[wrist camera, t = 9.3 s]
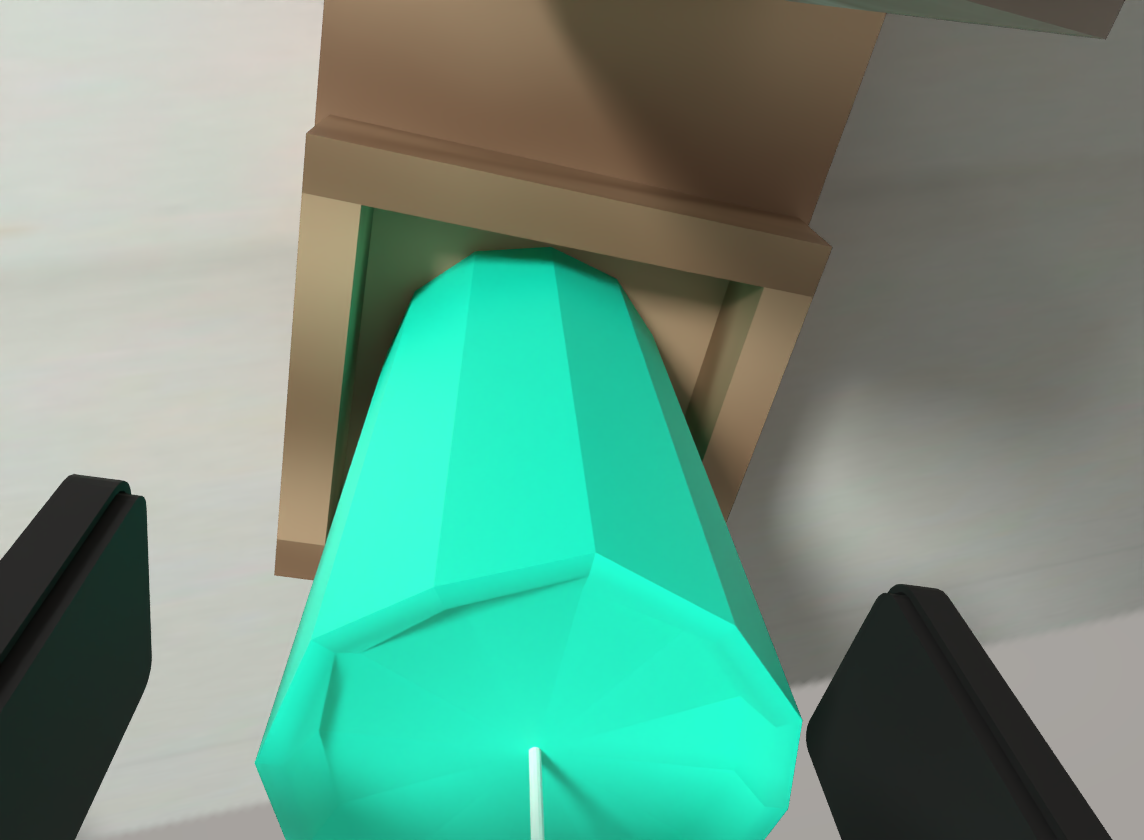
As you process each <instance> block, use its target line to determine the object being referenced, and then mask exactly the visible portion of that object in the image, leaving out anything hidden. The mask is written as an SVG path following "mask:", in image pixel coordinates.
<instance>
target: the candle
mask: <svg viewBox="0 0 1144 840" xmlns="http://www.w3.org/2000/svg"><path fill="white" fill-rule="evenodd" d="M801 727H802V718H801V715H800V713H799V710H798V708H797V705H796V702H795V700H794V697H793V695H792V692H791V690H790V687H789V684H788V682H787V679H786V677H785V674H784V672H783V669H782V666H781V664H780V661H779V659H778V656H777V654H776V651H775V648H774V646H773V643H772V641H771V638H770V636H769V633H768V630H767V628H766V625H765V623H764V620H763V618H762V615H761V612H760V610H759V607H758V605H757V602H756V600H755V597H754V594H753V592H752V589H751V587H750V584H749V582H748V579H747V576H746V574H745V571H744V569H743V566H742V564H741V561H740V558H739V556H738V553H737V551H736V548H735V546H734V543H733V540H732V538H731V535H730V533H729V530H728V528H727V525H726V522H725V520H724V517H723V515H722V512H721V510H720V507H719V504H718V502H717V499H716V497H715V494H714V492H713V489H712V486H711V484H710V481H709V479H708V476H707V474H706V471H705V468H704V466H703V463H702V461H701V458H700V456H699V453H698V450H697V448H696V445H695V443H694V440H693V438H692V435H691V432H690V430H689V427H688V425H687V422H686V420H685V417H684V414H683V412H682V409H681V407H680V404H679V402H678V399H677V396H676V394H675V391H674V389H673V386H672V384H671V381H670V378H669V376H668V373H667V371H666V368H665V366H664V363H663V360H662V358H661V355H660V353H659V350H658V348H657V345H656V342H655V340H654V337H653V335H652V333H651V332H650V330H649V329H648V327H647V326H646V324H645V322H644V321H643V319H642V318H641V316H640V315H639V313H638V312H637V310H636V308H635V307H634V305H633V304H632V302H631V301H630V299H629V297H628V296H627V294H626V293H625V291H624V290H623V288H622V286H621V285H620V283H619V282H618V280H617V279H616V278H614V277H612V276H610V275H608V274H606V273H604V272H602V271H600V270H598V269H596V268H594V267H591V266H589V265H587V264H585V263H583V262H581V261H579V260H577V259H575V258H573V257H571V256H569V255H567V254H565V253H563V252H561V251H559V250H557V249H555V248H553V247H538V248H521V249H505V250H488V251H475V252H474V253H472V254H471V255H469V256H468V257H466V258H465V259H463V260H461V261H460V262H458V263H457V264H455V265H454V266H452V267H451V268H449V269H448V270H446V271H445V272H443V273H442V274H440V275H439V276H437V277H436V278H434V279H433V280H431V281H430V282H428V283H427V284H425V285H424V286H422V287H420V288H419V289H417V290H416V291H415V292H414V294H413V296H412V299H411V301H410V303H409V305H408V307H407V310H406V312H405V314H404V316H403V318H402V321H401V323H400V325H399V327H398V330H397V332H396V334H395V336H394V338H393V341H392V343H391V345H390V347H389V349H388V352H387V355H386V358H385V361H384V364H383V367H382V370H381V373H380V376H379V379H378V382H377V386H376V389H375V392H374V395H373V398H372V401H371V404H370V407H369V410H368V413H367V416H366V420H365V423H364V426H363V429H362V432H361V435H360V438H359V441H358V444H357V447H356V451H355V454H354V457H353V460H352V463H351V466H350V469H349V472H348V475H347V478H346V482H345V485H344V488H343V491H342V494H341V497H340V500H339V503H338V506H337V509H336V513H335V516H334V519H333V522H332V525H331V528H330V531H329V534H328V537H327V540H326V544H325V547H324V550H323V553H322V556H321V559H320V562H319V565H318V568H317V571H316V575H315V578H314V581H313V584H312V587H311V590H310V593H309V596H308V599H307V602H306V606H305V609H304V612H303V615H302V618H301V621H300V624H299V627H298V630H297V633H296V637H295V640H294V643H293V646H292V649H291V652H290V655H289V658H288V661H287V664H286V668H285V671H284V674H283V677H282V680H281V683H280V686H279V689H278V692H277V695H276V698H275V702H274V705H273V708H272V711H271V714H270V717H269V720H268V723H267V726H266V729H265V733H264V736H263V739H262V742H261V745H260V748H259V751H258V754H257V757H256V760H255V765H256V768H257V770H258V773H259V775H260V777H261V780H262V782H263V785H264V787H265V790H266V792H267V795H268V797H269V800H270V802H271V805H272V807H273V810H274V812H275V814H276V817H277V819H278V822H279V824H280V827H281V829H282V832H283V834H284V837H285V839H286V840H765V838H766V837H767V836H768V834H769V833H770V832H771V830H772V829H773V828H774V827H775V825H776V824H777V823H778V821H779V820H780V819H781V817H782V816H783V815H784V814H785V812H786V811H787V810H788V807H789V801H790V794H791V788H792V782H793V776H794V769H795V764H796V757H797V751H798V745H799V739H800V732H801Z"/></svg>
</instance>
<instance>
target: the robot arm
mask: <svg viewBox="0 0 1144 840" xmlns="http://www.w3.org/2000/svg"><path fill="white" fill-rule="evenodd" d="M151 662H152V651H151V622H150V594H149V565H148V536H147V508H146V500H145V498H144V497H143V496H138V495H131V490H130V486H129V484H128V483H127V482H126V481H122V480H114V479H107V478H99V477H91V476H84V475H76V474H73V475H70V476H68V477H67V478H66V479H65V480H64V481H63V482H62V483H61V485H60V486H59V487H58V488H57V490H56V491H55V492H54V493H53V495H52V496H51V497H50V499H49V500H48V501H47V502H46V504H45V505H44V506H43V507H42V509H41V510H40V511H39V512H38V514H37V515H36V516H35V517H34V519H33V520H32V521H31V523H30V524H29V525H28V526H27V528H26V529H25V530H24V531H23V533H22V534H21V535H20V536H19V538H18V539H17V540H16V541H15V543H14V544H13V545H12V547H11V548H10V549H9V550H8V552H7V553H6V554H5V555H4V557H3V558H2V559H1V560H0V840H75V838H76V836H77V834H78V832H79V830H80V828H81V825H82V823H83V821H84V819H85V817H86V815H87V813H88V810H89V808H90V806H91V804H92V802H93V800H94V798H95V795H96V793H97V791H98V789H99V787H100V785H101V783H102V780H103V778H104V776H105V774H106V772H107V770H108V768H109V765H110V763H111V761H112V759H113V757H114V755H115V753H116V750H117V748H118V746H119V744H120V742H121V740H122V738H123V735H124V733H125V731H126V729H127V727H128V725H129V723H130V720H131V718H132V716H133V714H134V712H135V710H136V708H137V705H138V703H139V701H140V699H141V697H142V695H143V693H144V690H145V688H146V685H147V682H148V679H149V674H150V670H151ZM806 742H807V748H808V752H809V754H810V757H811V759H812V762H813V765H814V768H815V770H816V773H817V776H818V778H819V781H820V784H821V786H822V789H823V791H824V794H825V797H826V799H827V802H828V805H829V807H830V810H831V812H832V815H833V818H834V821H835V823H836V826H837V829H838V831H839V834H840V836H841V839H842V840H1112V839H1111V837H1110V836H1109V834H1108V833H1107V831H1106V830H1105V828H1104V827H1103V825H1102V824H1101V823H1100V821H1099V819H1098V818H1097V816H1096V815H1095V814H1094V812H1093V811H1092V809H1091V808H1090V806H1089V805H1088V803H1087V802H1086V800H1085V799H1084V797H1083V796H1082V794H1081V793H1080V791H1079V790H1078V788H1077V787H1076V785H1075V784H1074V782H1073V781H1072V779H1071V778H1070V776H1069V775H1068V773H1067V772H1066V771H1065V769H1064V768H1063V766H1062V765H1061V763H1060V762H1059V760H1058V759H1057V757H1056V756H1055V754H1054V753H1053V751H1052V750H1051V748H1050V747H1049V745H1048V744H1047V742H1046V741H1045V740H1044V738H1043V736H1042V735H1041V734H1040V732H1039V731H1038V729H1037V728H1036V726H1035V725H1034V723H1033V722H1032V720H1031V719H1030V717H1029V716H1028V714H1027V713H1026V711H1025V710H1024V708H1023V707H1022V705H1021V704H1020V702H1019V701H1018V699H1017V698H1016V696H1015V695H1014V694H1013V692H1012V691H1011V689H1010V688H1009V686H1008V685H1007V683H1006V682H1005V680H1004V679H1003V677H1002V676H1001V674H1000V673H999V671H998V670H997V668H996V667H995V665H994V664H993V663H992V661H991V660H990V658H989V657H988V655H987V654H986V652H985V651H984V649H983V648H982V646H981V645H980V643H979V642H978V640H977V639H976V637H975V636H974V634H973V633H972V631H971V630H970V628H969V627H968V625H967V624H966V622H965V621H964V619H963V618H962V617H961V615H960V614H959V612H958V611H957V609H956V608H955V606H954V605H953V603H952V602H951V600H950V599H949V597H948V596H947V595H946V594H945V593H944V592H943V591H941V590H939V589H935V588H928V587H920V586H913V585H905V584H897V585H895V586H893V587H892V588H891V589H890V590H889V591H888V593H883V594H881V595H880V596H879V597H878V598H877V599H876V601H875V603H874V604H873V606H872V608H871V610H870V612H869V614H868V615H867V617H866V619H865V621H864V623H863V624H862V626H861V628H860V630H859V632H858V634H857V635H856V637H855V639H854V641H853V643H852V644H851V646H850V648H849V650H848V652H847V654H846V655H845V657H844V659H843V661H842V663H841V664H840V666H839V668H838V670H837V672H836V674H835V675H834V677H833V679H832V681H831V683H830V684H829V686H828V688H827V690H826V692H825V694H824V695H823V697H822V699H821V701H820V703H819V704H818V706H817V708H816V710H815V712H814V714H813V715H812V717H811V719H810V721H809V723H808V726H807V731H806Z"/></svg>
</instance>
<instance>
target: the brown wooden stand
mask: <svg viewBox="0 0 1144 840" xmlns="http://www.w3.org/2000/svg"><path fill="white" fill-rule="evenodd" d="M1124 1H1125V0H324V10H323V24H322V37H321V50H320V63H319V76H318V89H317V102H316V115H315V127H313V128H312V129H311V130H310V131H308V132H307V133H306V144H305V158H304V172H303V186H302V200H301V213H300V227H299V241H298V255H297V269H296V283H295V297H294V311H293V324H292V338H291V352H290V366H289V380H288V394H287V408H286V422H285V435H284V449H283V463H282V477H281V491H280V505H279V519H278V533H277V546H276V560H275V574H274V575H276V576H284V577H292V578H300V579H308V580H314V578H315V575H316V571H317V568H318V565H319V562H320V559H321V556H322V553H323V550H324V547H325V544H326V540H327V537H328V534H329V531H330V528H331V525H332V522H333V519H334V516H335V513H336V509H337V506H338V503H339V500H340V497H341V494H342V491H343V488H344V485H345V482H346V478H347V475H348V472H349V469H350V466H351V463H352V460H353V457H354V454H355V451H356V447H357V444H358V441H359V438H360V435H361V432H362V429H363V426H364V423H365V420H366V416H367V413H368V410H369V407H370V404H371V401H372V398H373V395H374V392H375V389H376V386H377V382H378V379H379V376H380V373H381V370H382V367H383V364H384V361H385V358H386V355H387V352H388V349H389V347H390V345H391V343H392V341H393V338H394V336H395V334H396V332H397V330H398V327H399V325H400V323H401V321H402V318H403V316H404V314H405V312H406V310H407V307H408V305H409V303H410V301H411V299H412V296H413V294H414V292H415V291H416V290H417V289H419V288H420V287H422V286H424V285H425V284H427V283H428V282H430V281H431V280H433V279H434V278H436V277H437V276H439V275H440V274H442V273H443V272H445V271H446V270H448V269H449V268H451V267H452V266H454V265H455V264H457V263H458V262H460V261H461V260H463V259H465V258H466V257H468V256H469V255H471V254H472V253H474V252H475V251H488V250H505V249H521V248H538V247H553V248H555V249H557V250H559V251H561V252H563V253H565V254H567V255H569V256H571V257H573V258H575V259H577V260H579V261H581V262H583V263H585V264H587V265H589V266H591V267H594V268H596V269H598V270H600V271H602V272H604V273H606V274H608V275H610V276H612V277H614V278H616V279H617V280H618V282H619V283H620V285H621V286H622V288H623V290H624V291H625V293H626V294H627V296H628V297H629V299H630V301H631V302H632V304H633V305H634V307H635V308H636V310H637V312H638V313H639V315H640V316H641V318H642V319H643V321H644V322H645V324H646V326H647V327H648V329H649V330H650V332H651V333H652V335H653V337H654V340H655V342H656V345H657V348H658V350H659V353H660V355H661V358H662V360H663V363H664V366H665V368H666V371H667V373H668V376H669V378H670V381H671V384H672V386H673V389H674V391H675V394H676V396H677V399H678V402H679V404H680V407H681V409H682V412H683V414H684V417H685V420H686V422H687V425H688V427H689V430H690V432H691V435H692V438H693V440H694V443H695V445H696V448H697V450H698V453H699V456H700V458H701V461H702V463H703V466H704V468H705V471H706V474H707V476H708V479H709V481H710V484H711V486H712V489H713V492H714V494H715V497H716V499H717V502H718V504H719V507H720V510H721V512H722V515H723V517H724V520H725V522H727V519H728V516H729V514H730V511H731V509H732V506H733V503H734V501H735V498H736V496H737V493H738V491H739V488H740V485H741V483H742V480H743V478H744V475H745V472H746V470H747V467H748V465H749V462H750V459H751V457H752V454H753V452H754V449H755V447H756V444H757V441H758V439H759V436H760V434H761V431H762V428H763V426H764V423H765V421H766V418H767V415H768V413H769V410H770V408H771V405H772V402H773V400H774V397H775V395H776V392H777V390H778V387H779V384H780V382H781V379H782V377H783V374H784V371H785V369H786V366H787V364H788V361H789V358H790V356H791V353H792V351H793V348H794V346H795V343H796V340H797V338H798V335H799V333H800V330H801V327H802V325H803V322H804V320H805V317H806V314H807V312H808V309H809V307H810V304H811V302H812V299H813V296H814V294H815V291H816V289H817V286H818V283H819V281H820V278H821V276H822V273H823V270H824V268H825V265H826V263H827V260H828V257H829V255H830V252H831V250H832V246H831V245H829V244H828V243H827V242H826V241H825V240H824V239H823V238H821V237H820V236H819V235H818V234H817V233H816V232H814V231H813V230H812V229H811V228H810V227H809V226H808V225H809V223H810V220H811V217H812V215H813V212H814V209H815V206H816V204H817V201H818V198H819V196H820V193H821V190H822V187H823V185H824V182H825V179H826V176H827V174H828V171H829V168H830V166H831V163H832V160H833V157H834V155H835V152H836V149H837V147H838V144H839V141H840V138H841V136H842V133H843V130H844V128H845V125H846V122H847V119H848V117H849V114H850V111H851V108H852V106H853V103H854V100H855V98H856V95H857V92H858V89H859V87H860V84H861V81H862V79H863V76H864V73H865V70H866V68H867V65H868V62H869V59H870V57H871V54H872V51H873V49H874V46H875V43H876V40H877V38H878V35H879V32H880V30H881V27H882V24H883V21H884V19H885V16H886V13H891V14H899V15H907V16H916V17H924V18H932V19H941V20H949V21H957V22H966V23H974V24H982V25H990V26H999V27H1007V28H1015V29H1024V30H1032V31H1040V32H1049V33H1057V34H1065V35H1074V36H1082V37H1090V38H1099V39H1106V38H1107V36H1108V34H1109V32H1110V30H1111V28H1112V26H1113V24H1114V22H1115V20H1116V18H1117V16H1118V14H1119V12H1120V9H1121V7H1122V5H1123V3H1124Z"/></svg>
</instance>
